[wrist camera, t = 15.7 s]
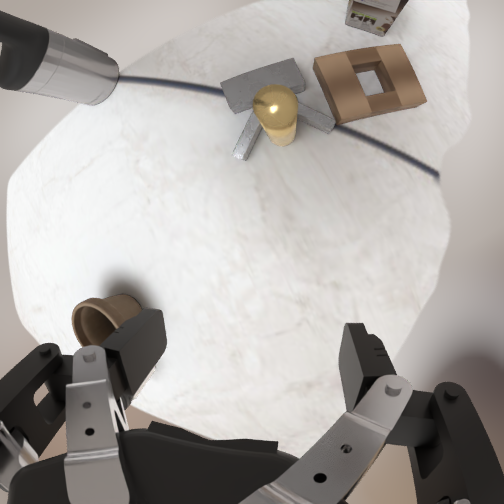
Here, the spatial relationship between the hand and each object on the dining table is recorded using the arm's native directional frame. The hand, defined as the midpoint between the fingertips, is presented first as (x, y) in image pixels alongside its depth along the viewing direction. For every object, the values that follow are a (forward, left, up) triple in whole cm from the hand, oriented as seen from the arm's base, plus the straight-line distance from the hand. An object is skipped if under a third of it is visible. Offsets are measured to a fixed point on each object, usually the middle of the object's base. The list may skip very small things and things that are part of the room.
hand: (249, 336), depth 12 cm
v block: (-15, +4, -28) cm, 32 cm away
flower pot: (+6, -30, -28) cm, 42 cm away
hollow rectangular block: (-15, +18, -28) cm, 37 cm away
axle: (-12, +4, -28) cm, 31 cm away
